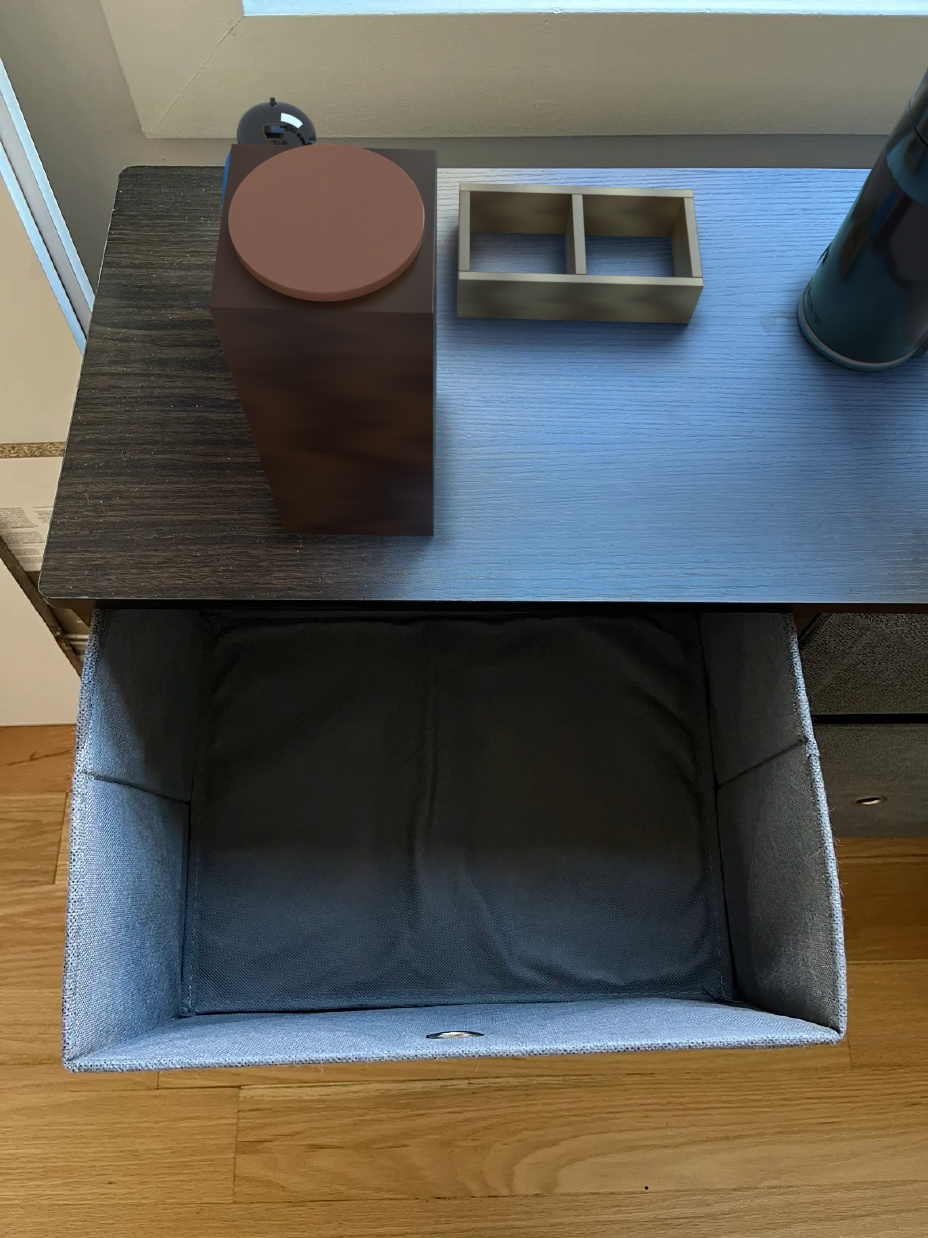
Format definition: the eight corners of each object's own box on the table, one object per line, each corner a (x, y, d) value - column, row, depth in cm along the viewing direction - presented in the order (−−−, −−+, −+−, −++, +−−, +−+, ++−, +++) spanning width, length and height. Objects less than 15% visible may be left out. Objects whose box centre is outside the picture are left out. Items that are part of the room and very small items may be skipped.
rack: (679, 230, 71) (693, 189, 67) (689, 323, 68) (704, 286, 64) (458, 223, 71) (459, 182, 67) (457, 317, 67) (458, 279, 64)
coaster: (426, 156, 44) (426, 145, 43) (422, 304, 40) (422, 295, 40) (240, 150, 43) (238, 139, 43) (220, 299, 40) (217, 289, 39)
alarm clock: (265, 252, 69) (221, 69, 55) (345, 251, 69) (322, 70, 55) (256, 394, 64) (206, 234, 50) (342, 393, 64) (317, 233, 51)
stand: (436, 411, 64) (437, 149, 44) (433, 536, 60) (433, 313, 40) (296, 408, 64) (231, 142, 43) (285, 533, 60) (208, 307, 40)
